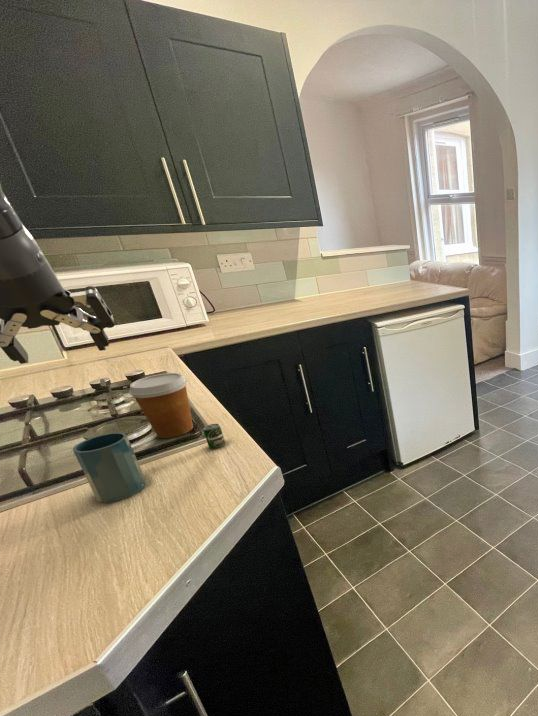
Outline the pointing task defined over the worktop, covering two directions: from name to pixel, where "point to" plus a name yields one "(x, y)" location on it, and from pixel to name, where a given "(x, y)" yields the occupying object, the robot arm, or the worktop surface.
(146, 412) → the disposable coffee cup
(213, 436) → the beer can
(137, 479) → the cup
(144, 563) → the worktop surface
